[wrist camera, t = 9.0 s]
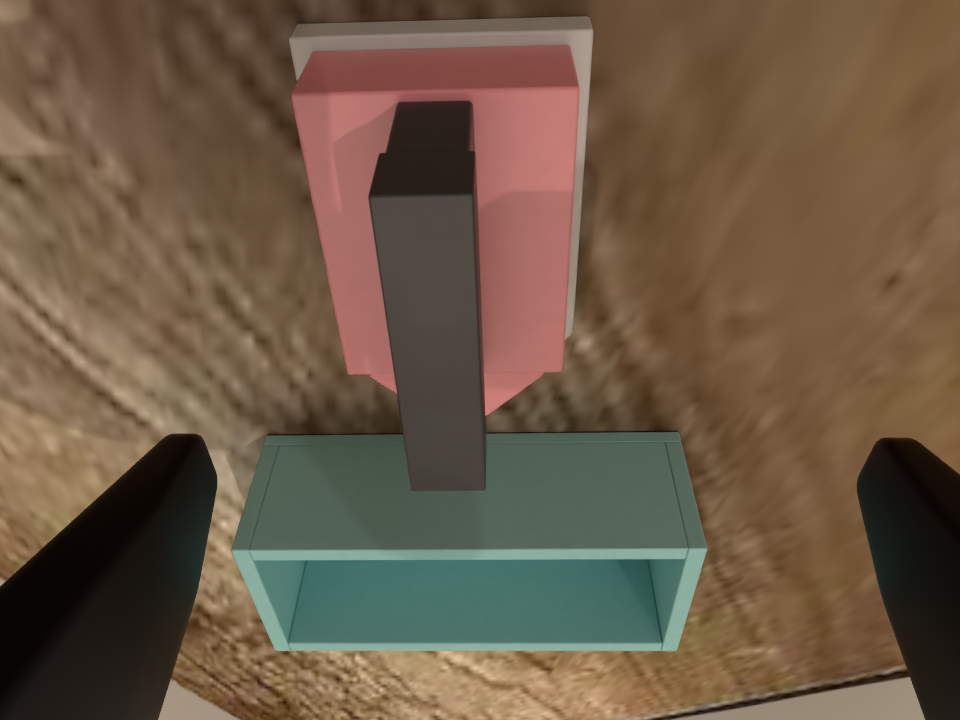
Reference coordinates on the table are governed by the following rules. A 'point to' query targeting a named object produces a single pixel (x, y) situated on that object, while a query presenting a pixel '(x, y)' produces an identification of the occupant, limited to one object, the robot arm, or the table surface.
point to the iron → (447, 212)
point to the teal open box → (473, 546)
